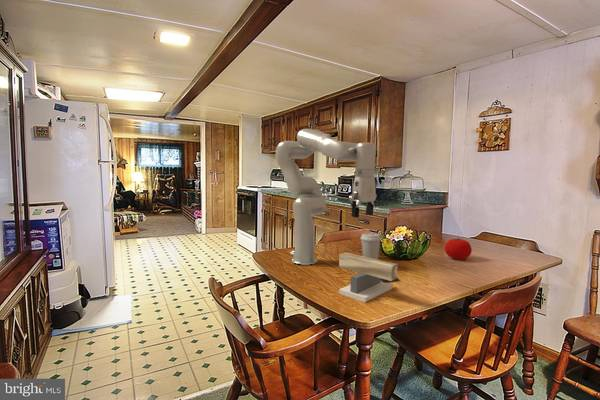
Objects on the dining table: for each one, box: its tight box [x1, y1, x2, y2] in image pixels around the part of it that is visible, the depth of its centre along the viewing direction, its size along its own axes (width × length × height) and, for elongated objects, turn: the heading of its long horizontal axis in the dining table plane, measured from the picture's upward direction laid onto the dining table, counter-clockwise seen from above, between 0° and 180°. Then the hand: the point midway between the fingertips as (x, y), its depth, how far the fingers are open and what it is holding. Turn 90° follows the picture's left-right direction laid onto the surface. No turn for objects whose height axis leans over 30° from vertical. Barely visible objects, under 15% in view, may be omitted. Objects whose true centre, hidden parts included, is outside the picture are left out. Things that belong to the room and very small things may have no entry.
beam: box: [338, 252, 398, 282], centre depth 116 cm, size 4×22×5 cm, turn 45°
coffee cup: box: [360, 232, 382, 260], centre depth 147 cm, size 10×10×15 cm
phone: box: [381, 277, 400, 283], centre depth 134 cm, size 8×1×15 cm
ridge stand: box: [338, 272, 393, 303], centre depth 116 cm, size 11×18×7 cm, turn 135°
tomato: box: [444, 237, 473, 261], centre depth 161 cm, size 11×12×10 cm
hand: (362, 216), depth 129 cm, fingers open, 9 cm apart
